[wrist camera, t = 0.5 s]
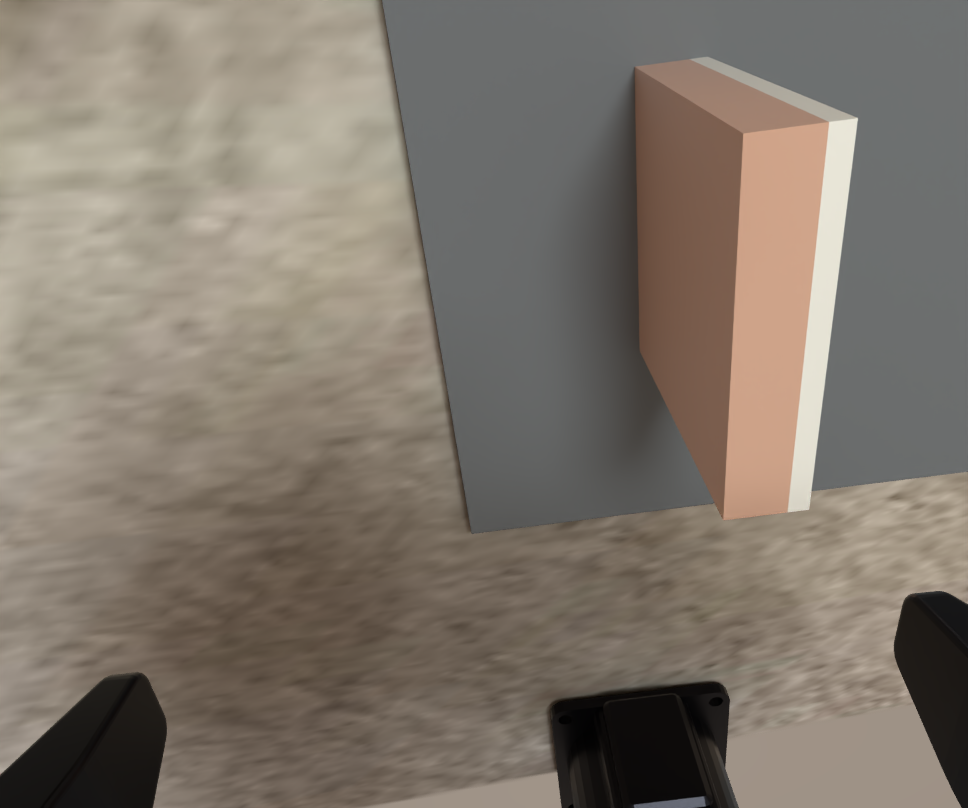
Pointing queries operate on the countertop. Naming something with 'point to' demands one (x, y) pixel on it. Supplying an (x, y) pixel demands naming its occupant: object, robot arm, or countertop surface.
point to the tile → (740, 271)
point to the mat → (614, 237)
